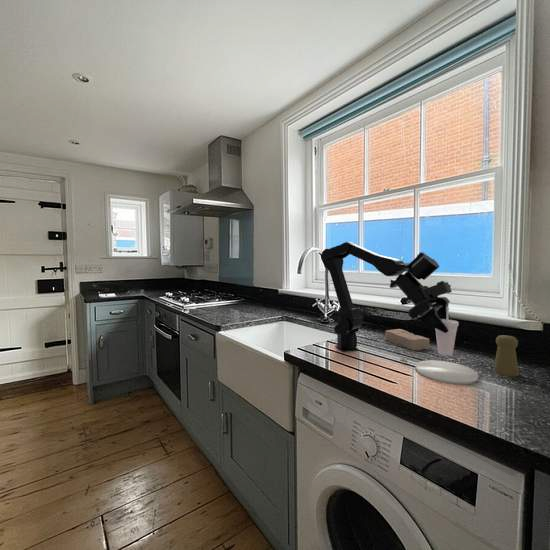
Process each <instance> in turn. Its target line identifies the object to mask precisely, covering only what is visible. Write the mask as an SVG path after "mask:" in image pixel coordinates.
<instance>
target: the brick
mask: <svg viewBox="0 0 550 550" xmlns="http://www.w3.org/2000/svg"><path fill="white" fill-rule="evenodd" d="M385 340H386V341H388V342H389V341H390V342H389V343H391V344H392V343H393V344H394V343H395V345H397V344H398V346H400V345H401V347H403V348H405V347H406V348H405V349H409V350H411V351H421V350H422V349H426V350H430V348H431V347H430V345H431V344H430V341H431V340H430V338H428V337H425V336H421V335H417V334H414V333H413V332H409V331H407V330H406V329H405V330H404V329H402V328H397V329H396V328H395V329H387V330H385ZM422 351H423V350H422Z"/></svg>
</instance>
